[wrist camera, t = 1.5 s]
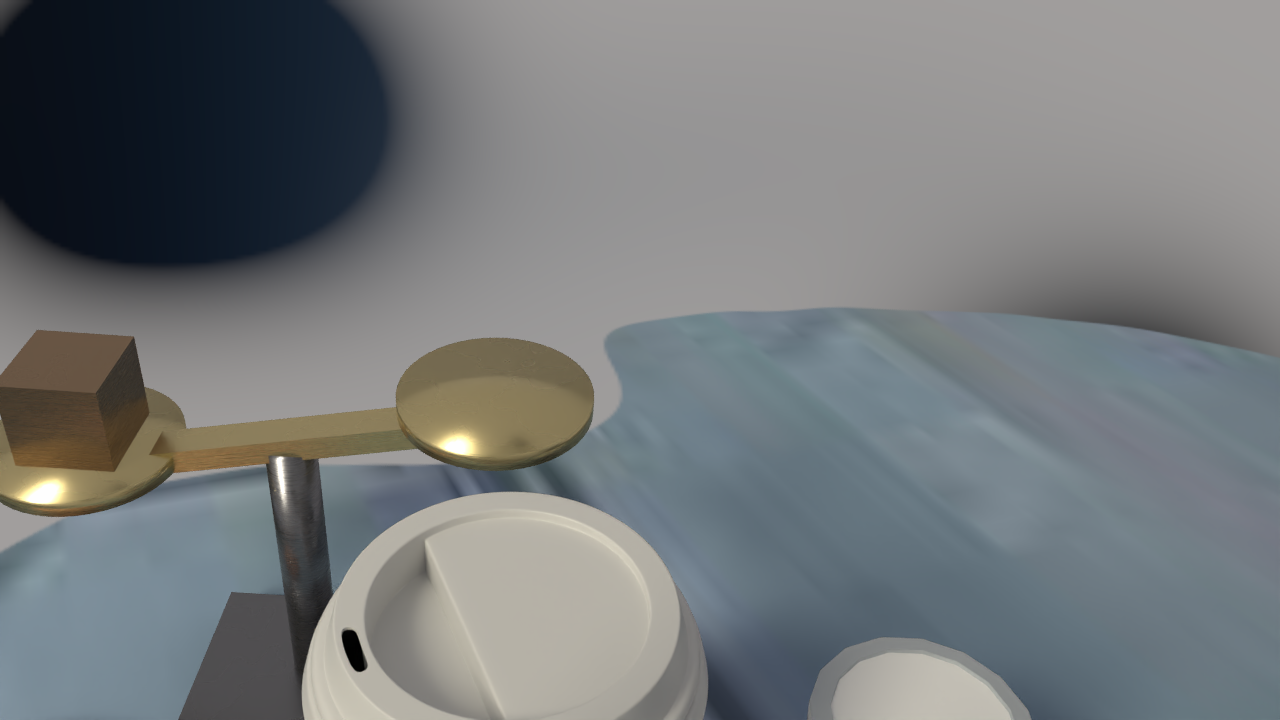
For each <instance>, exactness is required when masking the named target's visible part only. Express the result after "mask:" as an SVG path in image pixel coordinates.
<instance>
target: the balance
mask: <svg viewBox="0 0 1280 720" xmlns="http://www.w3.org/2000/svg"><path fill="white" fill-rule="evenodd" d="M593 407H594V391H593V386H592V383H591V381H590V379H589V377H588V375H587V374H586V372H585V371H584V370H583V369H582V368H581V367H580V366H579V365H578V364H577V363H576V362H575V361H573V360H572V359H571V358H569V357H567V356H566V355H564V354H563V353H561V352H559V351H557V350H554V349H552V348H550V347H547V346H544V345H541V344H538V343H534V342H530V341H524V340H519V339H510V338H481V339H472V340H466V341H461V342H457V343H453V344H449V345H446V346H444V347H441V348H438V349H436V350H434V351H432V352H430V353H428V354H426V355H424V356H423V357H421V358H419V359H418V360H417V361H416V362H414V363H413V364H412V365H411V366H410V367H409V368H408V369H407V370H406V371H405V373H404V374H403V376H402V377H401V379H400V381H399V384H398V386H397V390H396V407H394V408H384V409H374V410H365V411H355V412H345V413H335V414H327V415H317V416H306V417H298V418H287V419H278V420H268V421H259V422H249V423H239V424H229V425H220V426H210V427H200V428H190V429H186V424H185V419H184V416H183V413H182V411H181V410H180V408H179V407H178V406H177V404H176V403H175V402H174V401H172V400H171V399H170V398H169V397H167V396H165V395H164V394H162V393H160V392H157V391H155V390H153V389H149V388H146V387H144V383H143V378H142V374H141V368H140V364H139V359H138V354H137V349H136V344H135V339H134V337H131V336H117V335H102V334H88V333H72V332H58V331H43V330H37V331H36V332H35V333H34V335H33V336H32V337H31V338H30V339H29V341H28V342H27V343H26V345H25V346H24V347H23V348H22V349H21V351H20V352H19V353H18V354H17V356H16V357H15V358H14V359H13V360H12V362H11V363H10V364H9V365H8V367H7V368H6V369H5V371H4V372H3V373H2V374H1V375H0V415H1V418H2V419H1V420H0V502H1V503H2V504H4V505H6V506H8V507H10V508H12V509H14V510H18V511H20V512H23V513H28V514H32V515H40V516H48V517H66V516H78V515H85V514H91V513H96V512H100V511H105V510H108V509H111V508H115V507H118V506H120V505H123V504H126V503H128V502H131V501H133V500H135V499H137V498H139V497H141V496H143V495H145V494H146V493H148V492H150V491H152V490H153V489H155V488H156V487H157V486H159V485H160V484H162V483H163V482H164V481H165V480H166V479H167V478H169V477H170V476H171V475H172V474H173V473H178V472H188V471H199V470H209V469H218V468H229V467H239V466H249V465H259V464H266V466H267V473H268V481H269V488H270V495H271V502H272V509H273V516H274V523H275V530H276V537H277V544H278V552H279V559H280V566H281V573H282V580H283V587H284V594H285V595H269V594H253V593H237V592H231V595H230V597H229V599H228V602H227V604H226V607H225V609H224V611H223V614H222V616H221V619H220V621H219V623H218V626H217V628H216V631H215V633H214V635H213V638H212V640H211V642H210V645H209V647H208V650H207V652H206V654H205V657H204V659H203V662H202V664H201V666H200V669H199V671H198V674H197V676H196V678H195V681H194V683H193V686H192V688H191V690H190V693H189V695H188V698H187V700H186V702H185V705H184V707H183V710H182V712H181V714H180V717H179V719H178V720H305V719H304V714H303V707H302V680H303V673H304V667H305V663H306V659H307V655H308V651H309V647H310V644H311V640H312V637H313V634H314V632H315V629H316V627H317V625H318V622H319V620H320V618H321V616H322V614H323V612H324V610H325V608H326V606H327V605H328V603H329V601H330V599H331V598H332V596H333V591H332V582H331V573H330V563H329V554H328V545H327V536H326V526H325V517H324V508H323V499H322V489H321V480H320V471H319V462H318V459H319V458H328V457H339V456H349V455H359V454H369V453H379V452H389V451H399V450H409V449H419V450H421V451H422V452H423V453H425V454H427V455H429V456H431V457H432V458H434V459H437V460H439V461H442V462H444V463H447V464H450V465H454V466H457V467H462V468H467V469H474V470H484V471H503V470H514V469H521V468H526V467H531V466H535V465H538V464H541V463H544V462H547V461H550V460H552V459H554V458H556V457H559V456H560V455H562V454H564V453H565V452H567V451H569V450H570V449H571V448H573V447H574V446H575V445H576V444H577V443H578V442H579V441H580V440H581V439H582V438H583V437H584V436H585V434H586V433H587V431H588V429H589V427H590V425H591V422H592V417H593Z"/></svg>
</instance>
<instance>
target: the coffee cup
mask: <svg viewBox="0 0 1280 720" xmlns="http://www.w3.org/2000/svg"><path fill="white" fill-rule="evenodd" d="M707 696H708V670H707V663H706V657H705V653H704V649H703V644H702V640H701V636H700V632H699V629H698V626H697V624H696V621H695V619H694V616H693V614H692V612H691V610H690V608H689V606H688V603H687V601H686V600H685V598H684V596H683V594H682V593H681V591H680V589H679V588H678V587H677V585H676V584H675V582H674V581H673V579H672V576H671V574H670V572H669V570H668V569H667V567H666V565H665V564H664V562H663V561H662V559H661V558H660V556H659V555H658V554H657V552H656V551H655V550H654V549H653V548H652V547H651V546H650V545H649V543H648V542H647V541H645V540H644V539H643V538H642V537H641V536H640V535H639V534H638V533H636V532H635V531H634V530H633V529H631V528H630V527H628V526H627V525H626V524H624V523H623V522H621V521H619V520H618V519H616V518H614V517H612V516H611V515H609V514H607V513H605V512H603V511H600V510H598V509H596V508H594V507H591V506H588V505H586V504H583V503H580V502H577V501H573V500H570V499H566V498H562V497H557V496H552V495H546V494H538V493H528V492H494V493H484V494H476V495H470V496H465V497H460V498H456V499H452V500H448V501H445V502H442V503H439V504H436V505H433V506H430V507H428V508H425V509H423V510H421V511H418V512H416V513H414V514H412V515H410V516H408V517H406V518H404V519H403V520H401V521H399V522H398V523H396V524H394V525H393V526H391V527H390V528H389V529H387V530H386V531H384V532H383V533H382V534H381V535H379V536H378V537H377V538H376V539H375V540H373V541H372V542H371V543H370V544H369V545H368V546H367V547H366V548H365V549H364V550H363V551H362V553H361V554H360V555H359V556H358V557H357V559H356V560H355V561H354V563H353V564H352V566H351V567H350V569H349V570H348V572H347V574H346V575H345V577H344V579H343V581H342V584H341V585H340V586H339V588H338V589H337V590H336V592H335V593H334V595H333V596H332V598H331V599H330V601H329V603H328V605H327V606H326V608H325V610H324V612H323V614H322V616H321V618H320V620H319V622H318V625H317V627H316V629H315V632H314V634H313V637H312V640H311V644H310V647H309V651H308V655H307V659H306V663H305V667H304V673H303V680H302V707H303V714H304V719H305V720H703V717H704V713H705V709H706V704H707Z"/></svg>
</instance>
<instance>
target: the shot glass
mask: <svg viewBox="0 0 1280 720" xmlns="http://www.w3.org/2000/svg"><path fill="white" fill-rule="evenodd" d="M807 720H1031V717H1030V714H1029V711H1028V709H1027V708H1026V707H1025V706H1024V704H1023V703H1022V702H1021V701H1020V700H1019V698H1018V697H1017V696H1016V695H1015V694H1014V692H1013V691H1012V690H1011V689H1010V688H1009V686H1008V685H1007V684H1006V683H1005V682H1004V680H1003V679H1002V678H1001V677H1000V676H998V675H997V674H995V673H994V672H992V671H991V670H989V669H988V668H986V667H985V666H983V665H982V664H980V663H979V662H977V661H976V660H974V659H973V658H971V657H970V656H968V655H967V654H965V653H964V652H961V651H958V650H955V649H952V648H949V647H946V646H943V645H940V644H937V643H934V642H930V641H927V640H924V639H916V638H891V637H880V638H877V639H873V640H870V641H867V642H863V643H860V644H857V645H854V646H850V647H847V648H845V649H844V650H843V651H842V652H840V653H839V654H838V655H837V656H836V657H835V658H834V659H832V660H831V661H830V662H829V663H828V664H827V665H826V666H824V667H823V668H822V669H821V670H820V672H819V675H818V678H817V681H816V684H815V686H814V689H813V692H812V695H811V698H810V700H809V708H808V719H807Z"/></svg>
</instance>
